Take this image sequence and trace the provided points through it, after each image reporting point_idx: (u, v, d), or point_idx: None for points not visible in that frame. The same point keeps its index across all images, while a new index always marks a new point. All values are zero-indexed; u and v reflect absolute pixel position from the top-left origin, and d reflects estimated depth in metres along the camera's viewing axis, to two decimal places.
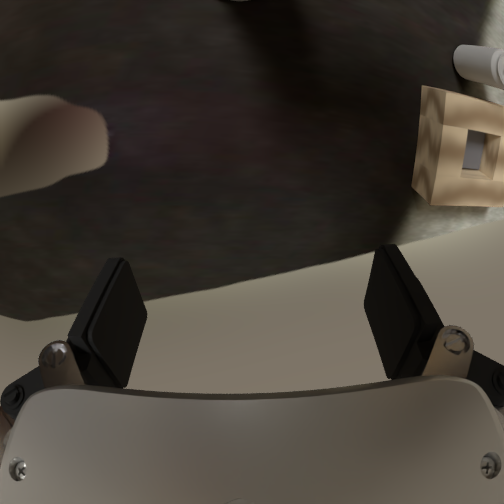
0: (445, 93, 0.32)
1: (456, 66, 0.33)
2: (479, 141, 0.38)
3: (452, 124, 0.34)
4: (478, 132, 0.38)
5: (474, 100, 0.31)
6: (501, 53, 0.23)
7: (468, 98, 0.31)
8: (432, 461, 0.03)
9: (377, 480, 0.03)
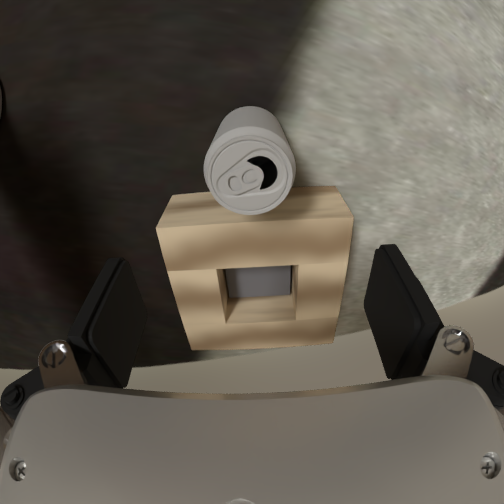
0: (157, 230, 0.28)
1: None
2: None
3: (183, 268, 0.30)
4: None
5: (217, 226, 0.27)
6: (221, 145, 0.19)
7: (203, 227, 0.27)
8: (432, 461, 0.03)
9: (377, 480, 0.03)
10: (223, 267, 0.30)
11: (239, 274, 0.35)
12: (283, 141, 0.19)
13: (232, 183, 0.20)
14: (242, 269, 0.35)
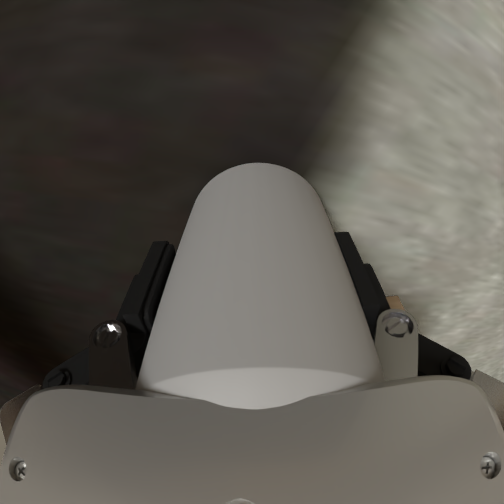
0: None
1: None
2: None
3: None
4: None
5: None
6: None
7: None
8: (432, 461, 0.03)
9: (377, 480, 0.03)
10: None
11: None
12: None
13: None
14: None
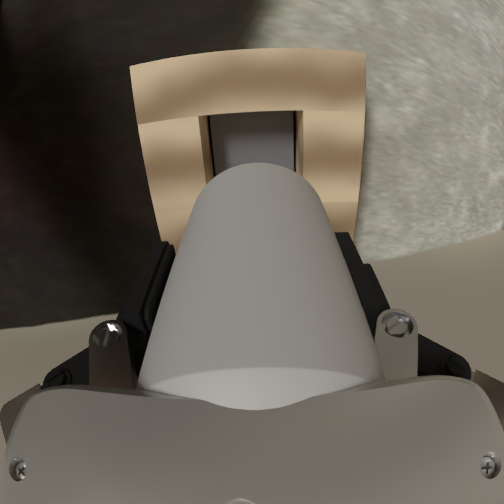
0: (131, 69, 0.19)
1: None
2: (281, 130, 0.26)
3: (157, 118, 0.22)
4: (273, 113, 0.25)
5: (202, 56, 0.19)
6: None
7: (185, 58, 0.19)
8: (432, 461, 0.03)
9: (377, 480, 0.03)
10: (207, 113, 0.22)
11: (229, 148, 0.27)
12: None
13: None
14: (233, 141, 0.27)
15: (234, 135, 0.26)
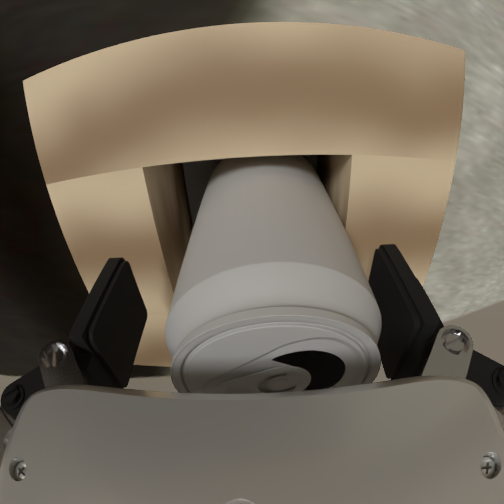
0: (26, 85, 0.09)
1: None
2: None
3: (73, 172, 0.11)
4: None
5: (143, 45, 0.08)
6: (200, 323, 0.07)
7: (110, 52, 0.08)
8: (432, 461, 0.03)
9: (377, 480, 0.03)
10: (159, 161, 0.11)
11: None
12: (366, 294, 0.07)
13: (233, 390, 0.08)
14: None
15: None
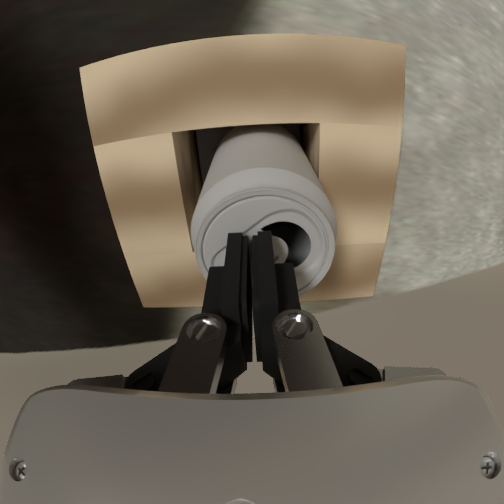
0: (81, 71, 0.13)
1: None
2: None
3: (117, 136, 0.15)
4: None
5: (175, 48, 0.13)
6: (217, 203, 0.11)
7: (151, 51, 0.13)
8: (432, 461, 0.03)
9: (377, 480, 0.03)
10: (184, 128, 0.15)
11: None
12: (320, 192, 0.12)
13: None
14: None
15: None
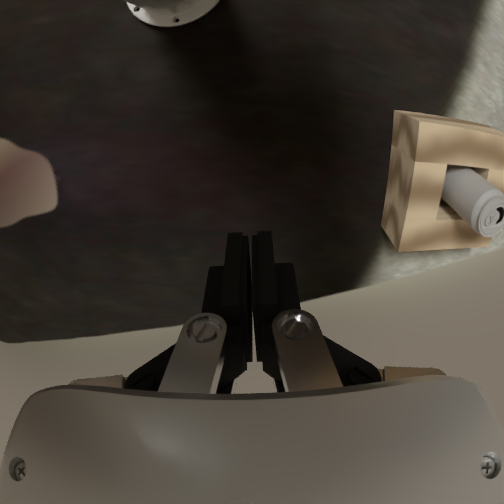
0: (419, 123, 0.29)
1: None
2: None
3: (427, 160, 0.31)
4: None
5: (456, 129, 0.28)
6: (488, 199, 0.27)
7: (449, 127, 0.28)
8: (432, 461, 0.03)
9: (377, 480, 0.03)
10: (451, 163, 0.31)
11: None
12: None
13: (487, 219, 0.28)
14: None
15: None
